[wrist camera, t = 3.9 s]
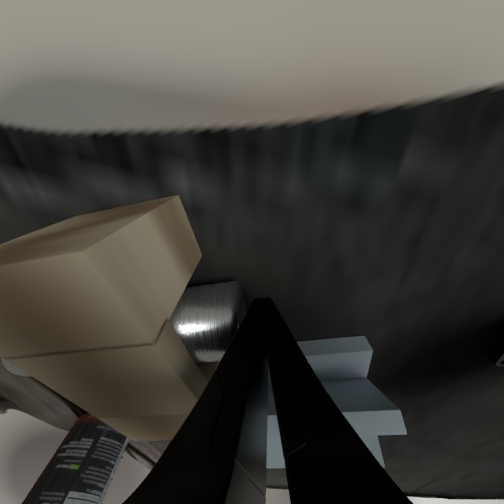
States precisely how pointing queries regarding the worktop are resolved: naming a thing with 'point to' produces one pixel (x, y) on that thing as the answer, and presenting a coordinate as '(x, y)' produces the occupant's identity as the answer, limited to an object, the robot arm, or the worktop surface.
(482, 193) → the worktop surface
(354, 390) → the v block
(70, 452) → the supplement bottle
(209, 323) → the axle
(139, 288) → the beam
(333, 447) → the robot arm
